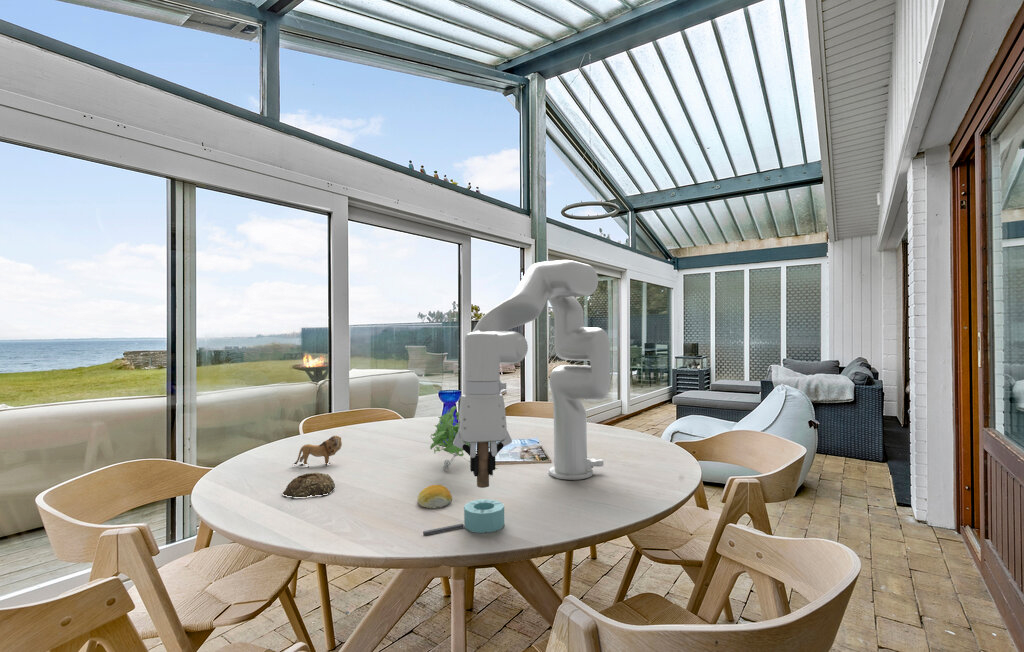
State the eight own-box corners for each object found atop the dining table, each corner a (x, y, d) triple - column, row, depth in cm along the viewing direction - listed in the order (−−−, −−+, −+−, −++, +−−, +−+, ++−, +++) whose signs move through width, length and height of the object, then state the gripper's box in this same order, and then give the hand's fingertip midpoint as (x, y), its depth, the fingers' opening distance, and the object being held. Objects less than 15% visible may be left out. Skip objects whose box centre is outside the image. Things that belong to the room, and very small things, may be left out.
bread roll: (449, 495, 125) (449, 479, 125) (453, 507, 117) (453, 490, 117) (416, 498, 124) (416, 482, 124) (418, 510, 115) (418, 493, 115)
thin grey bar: (462, 526, 105) (462, 523, 105) (463, 527, 104) (463, 524, 104) (423, 534, 101) (423, 531, 101) (424, 535, 100) (424, 532, 100)
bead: (500, 515, 110) (499, 498, 110) (507, 530, 102) (506, 511, 102) (462, 519, 109) (462, 501, 109) (467, 534, 100) (466, 514, 100)
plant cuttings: (474, 474, 166) (421, 436, 165) (504, 433, 167) (452, 395, 166) (475, 512, 131) (407, 464, 130) (512, 460, 132) (446, 412, 131)
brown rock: (335, 482, 138) (335, 465, 138) (334, 496, 126) (334, 477, 126) (285, 488, 133) (285, 470, 133) (280, 503, 122) (279, 482, 122)
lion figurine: (342, 461, 160) (342, 433, 160) (341, 465, 155) (341, 436, 155) (293, 465, 156) (293, 436, 156) (291, 469, 150) (290, 440, 151)
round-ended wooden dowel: (487, 483, 107) (487, 428, 107) (489, 487, 104) (489, 430, 104) (476, 484, 106) (475, 429, 106) (477, 488, 104) (477, 431, 104)
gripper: (515, 386, 111) (515, 467, 111) (443, 388, 108) (444, 471, 107) (522, 389, 104) (523, 476, 103) (446, 391, 100) (446, 481, 100)
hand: (482, 473), depth 105 cm, fingers closed on round-ended wooden dowel, 2 cm apart
